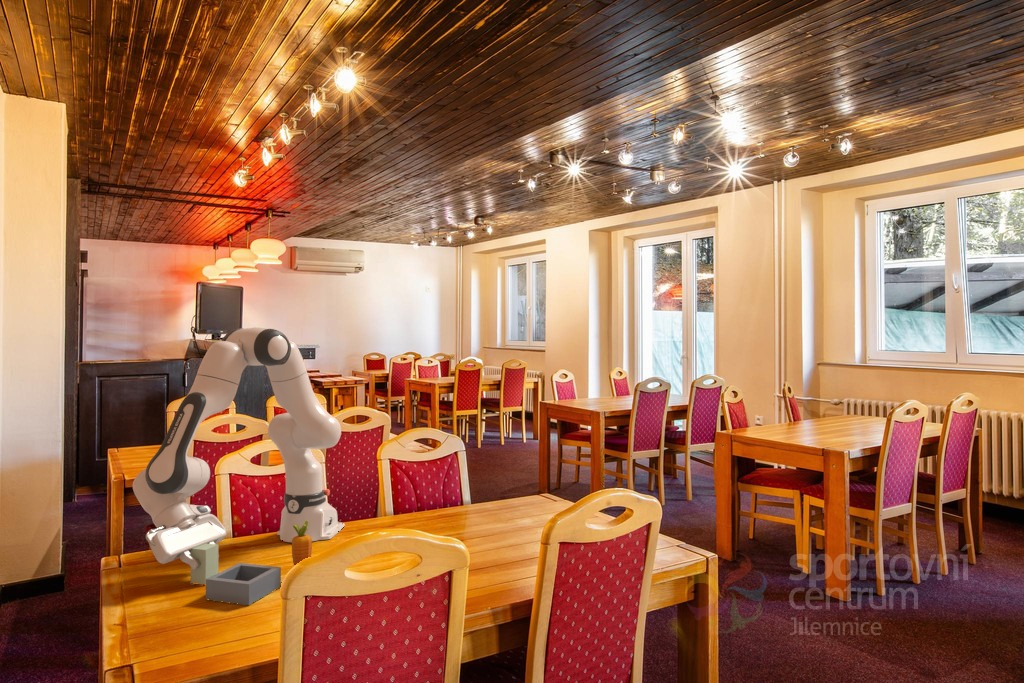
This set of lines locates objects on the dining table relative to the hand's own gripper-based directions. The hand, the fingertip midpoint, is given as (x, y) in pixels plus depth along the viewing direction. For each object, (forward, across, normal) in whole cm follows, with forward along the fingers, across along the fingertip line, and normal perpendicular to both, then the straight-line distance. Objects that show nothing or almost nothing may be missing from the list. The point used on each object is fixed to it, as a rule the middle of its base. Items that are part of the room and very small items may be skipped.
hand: (206, 563), depth 164 cm
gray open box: (+14, -3, -7) cm, 16 cm away
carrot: (+19, +9, -12) cm, 24 cm away
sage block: (+3, 0, +4) cm, 5 cm away
